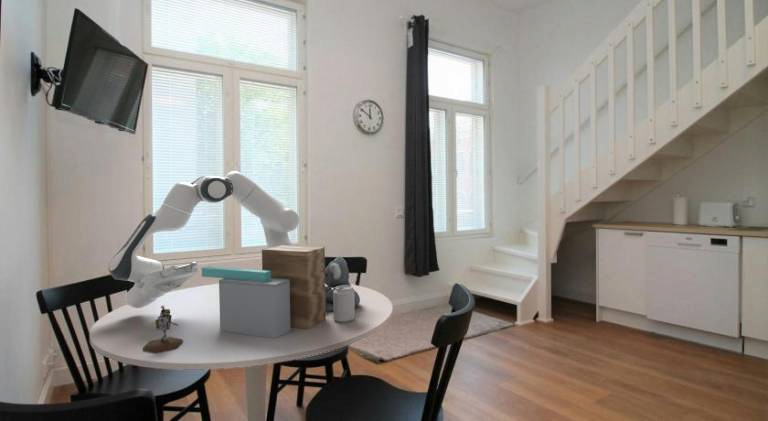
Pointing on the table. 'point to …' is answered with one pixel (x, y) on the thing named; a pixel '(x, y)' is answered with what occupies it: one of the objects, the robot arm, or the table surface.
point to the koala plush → (336, 281)
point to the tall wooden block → (300, 280)
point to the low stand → (255, 306)
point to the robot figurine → (164, 342)
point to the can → (344, 303)
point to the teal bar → (236, 273)
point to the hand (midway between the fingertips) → (185, 265)
